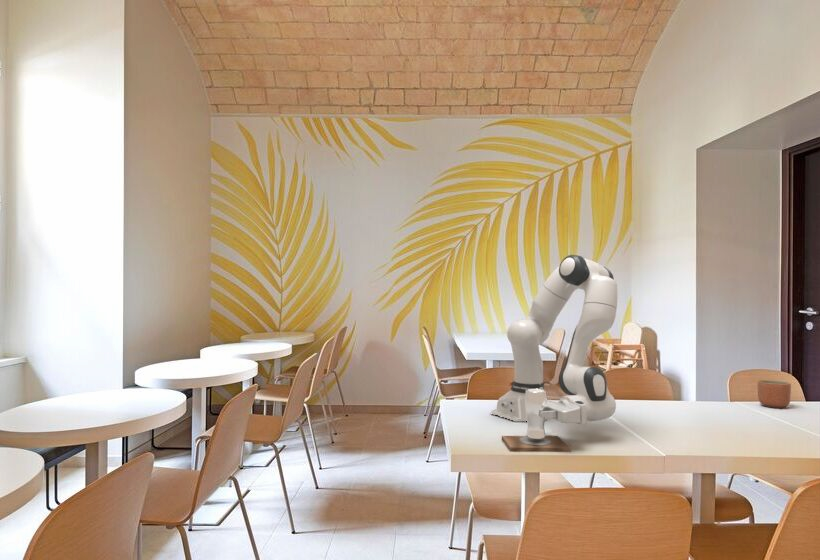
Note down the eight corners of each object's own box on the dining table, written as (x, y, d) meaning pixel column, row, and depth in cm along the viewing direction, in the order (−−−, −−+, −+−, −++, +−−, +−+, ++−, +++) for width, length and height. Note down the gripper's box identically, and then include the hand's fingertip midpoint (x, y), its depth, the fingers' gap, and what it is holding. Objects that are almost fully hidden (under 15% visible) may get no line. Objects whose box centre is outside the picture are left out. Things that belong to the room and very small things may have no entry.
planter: (797, 410, 242) (797, 384, 242) (768, 409, 242) (768, 384, 242) (779, 404, 254) (779, 379, 254) (751, 403, 254) (751, 379, 254)
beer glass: (522, 434, 185) (522, 388, 185) (543, 433, 185) (542, 388, 186) (528, 439, 178) (528, 392, 178) (550, 439, 178) (549, 392, 179)
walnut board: (510, 451, 174) (510, 446, 174) (501, 439, 188) (501, 434, 188) (570, 451, 175) (570, 446, 175) (557, 439, 189) (557, 435, 189)
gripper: (552, 394, 196) (517, 396, 191) (589, 405, 176) (550, 408, 172) (552, 412, 196) (517, 414, 191) (589, 425, 176) (550, 428, 172)
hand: (533, 411), depth 181 cm, fingers closed on beer glass, 6 cm apart
